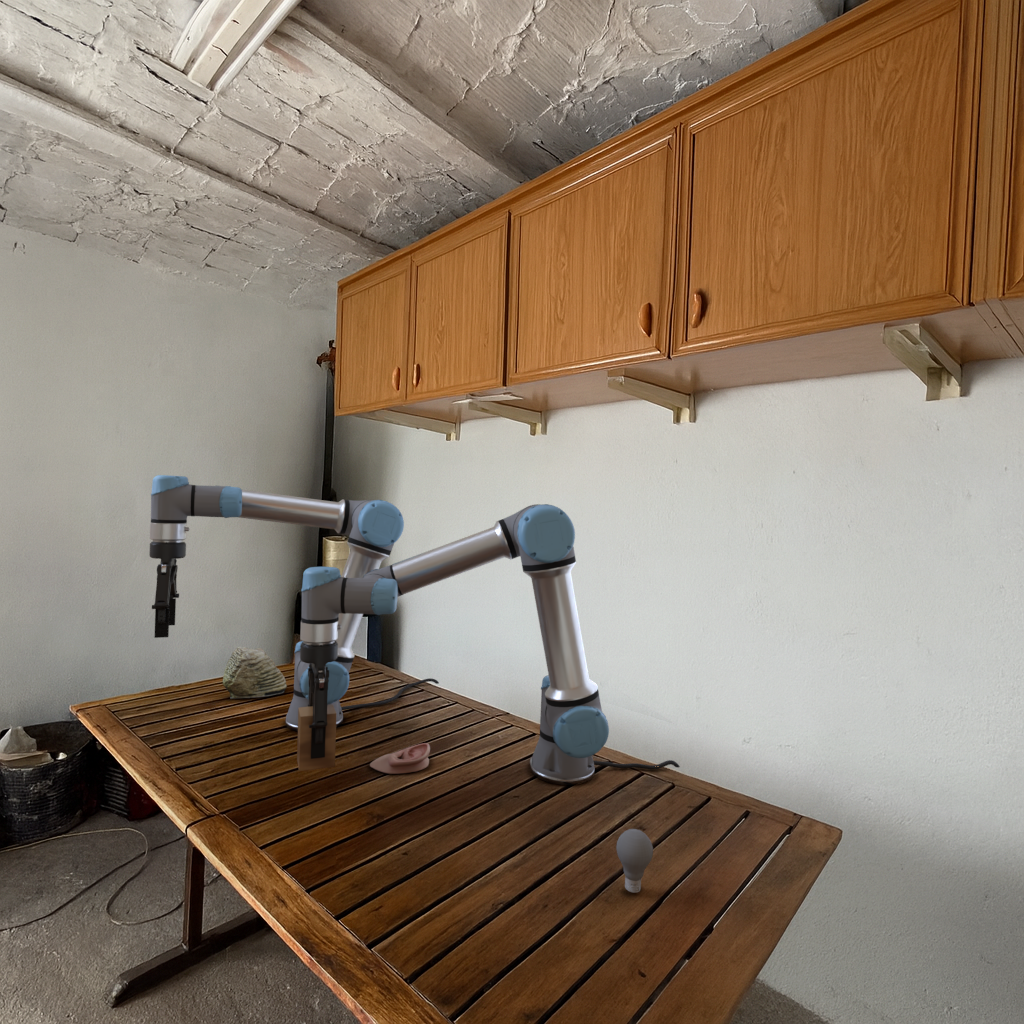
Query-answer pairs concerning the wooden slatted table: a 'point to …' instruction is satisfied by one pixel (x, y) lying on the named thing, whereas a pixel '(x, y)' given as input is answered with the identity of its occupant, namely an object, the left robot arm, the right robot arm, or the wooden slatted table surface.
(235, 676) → the fossil
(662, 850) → the wooden slatted table surface
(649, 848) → the light bulb
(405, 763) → the anatomical model
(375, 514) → the left robot arm
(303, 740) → the block
